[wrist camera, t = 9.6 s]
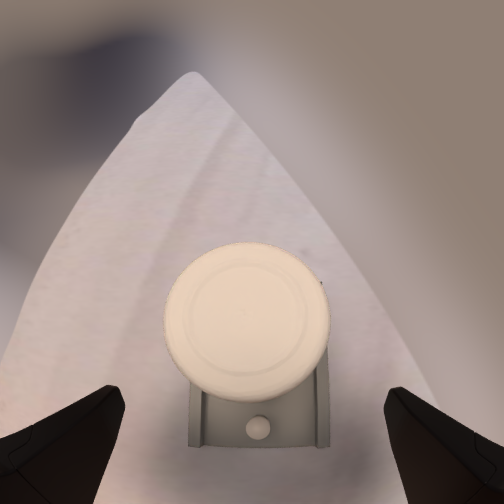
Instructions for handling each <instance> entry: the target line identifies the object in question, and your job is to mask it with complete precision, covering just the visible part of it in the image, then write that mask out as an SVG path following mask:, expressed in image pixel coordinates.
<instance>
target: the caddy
mask: <svg viewBox="0 0 504 504" xmlns="http://www.w3.org/2000/svg"><path fill="white" fill-rule="evenodd" d="M320 283H321V285H322V282H320ZM203 445H207V446H220V447H238V448H285V447H303V446H316V447H317V448H324V447H330V403H329V373H328V354H327V346H326V349H325V351H324V353H323V356H322V358H321V359H320V361H319V363H318V364H317V366H316V367H315V369H314V370H313V372H312V373H311V374H310V375H309V376H308V377H307V378H306V379H305V380H304V381H303V382H302V383H301V384H299V385H298V386H297V387H295V388H294V389H292V390H291V391H289V392H288V393H286V394H284V395H282V396H280V397H277V398H274V399H271V400H268V401H263V402H257V403H239V402H232V401H227V400H223V399H219V398H217V397H215V396H212V395H210V394H208V393H206V392H204V391H202V390H200V389H199V388H197V387H196V386H195V385H193V384H192V383H191V382H190V400H189V433H188V446H190V447H199V448H200V447H202V446H203Z"/></svg>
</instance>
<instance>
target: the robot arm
mask: <svg viewBox="0 0 504 504" xmlns="http://www.w3.org/2000/svg"><path fill="white" fill-rule="evenodd" d="M124 411H125V402H124V400H123V397H122V395H121V392H120V389H119V388H118V387H117V386H112V385H106V386H104V387H102V388H100V389H98V390H97V391H95V392H93V393H91V394H89V395H88V396H86V397H84V398H82V399H80V400H78V401H77V402H75V403H73V404H71V405H69V406H67V407H65V408H64V409H62V410H60V411H58V412H56V413H54V414H52V415H50V416H48V417H46V418H44V419H42V420H40V421H38V422H37V423H35V424H34V425H30V426H29V427H27V428H24V429H22V430H20V431H18V432H16V433H13V434H11V435H8V436H6V437H3V438H0V504H93V502H94V499H95V496H96V494H97V491H98V488H99V485H100V483H101V480H102V477H103V475H104V472H105V469H106V467H107V464H108V461H109V459H110V456H111V454H112V451H113V449H114V446H115V443H116V440H117V437H118V433H119V429H120V425H121V422H122V418H123V414H124ZM384 415H385V419H386V424H387V429H388V434H389V439H390V444H391V448H392V451H393V454H394V458H395V461H396V464H397V467H398V470H399V473H400V477H401V480H402V483H403V487H404V490H405V494H406V497H407V501H408V504H504V447H503V446H500V445H498V444H496V443H494V442H492V441H490V440H488V439H487V438H485V437H483V436H481V435H479V434H478V433H476V432H475V433H474V431H473V430H471V429H469V428H468V427H466V426H464V425H463V424H461V423H459V422H457V421H456V420H454V419H453V418H451V417H449V416H448V415H446V414H445V413H443V412H441V411H440V410H438V409H437V408H435V407H433V406H432V405H430V404H429V403H427V402H425V401H424V400H422V399H421V398H419V397H417V396H416V395H414V394H413V393H411V392H410V391H408V390H406V389H405V388H403V387H396V388H391V389H390V390H389V392H388V395H387V398H386V401H385V404H384Z"/></svg>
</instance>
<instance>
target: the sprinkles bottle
mask: <svg viewBox="0 0 504 504" xmlns="http://www.w3.org/2000/svg"><path fill="white" fill-rule="evenodd" d="M330 325H331V315H330V308H329V303H328V300H327V297H326V293H325V291H324V289H323V286H322V285H321V283H320V281H319V279H318V278H317V277H316V275H315V274H314V273H313V272H312V270H311V269H310V268H309V267H308V266H307V265H306V264H305V263H304V262H302V261H301V260H300V259H299V258H297V257H296V256H294V255H293V254H291V253H289V252H287V251H285V250H283V249H281V248H278V247H275V246H272V245H268V244H263V243H255V242H241V243H234V244H228V245H224V246H221V247H218V248H215V249H213V250H211V251H209V252H207V253H205V254H203V255H202V256H200V257H199V258H197V259H196V260H195V261H193V262H192V263H191V264H190V265H189V266H188V267H186V269H185V270H184V271H183V272H182V273H181V274H180V276H179V277H178V278H177V280H176V281H175V282H174V284H173V287H172V288H171V291H170V293H169V295H168V298H167V301H166V305H165V309H164V317H163V329H164V338H165V342H166V346H167V349H168V352H169V354H170V356H171V358H172V360H173V362H174V363H175V365H176V366H177V368H178V369H179V371H180V372H181V373H182V374H183V375H184V376H185V377H186V378H187V379H188V380H189V381H190V382H191V383H192V384H193V385H195V386H196V387H197V388H199V389H200V390H202V391H204V392H206V393H208V394H210V395H212V396H215V397H217V398H219V399H223V400H227V401H232V402H239V403H257V402H263V401H268V400H271V399H274V398H277V397H280V396H282V395H284V394H286V393H288V392H289V391H291V390H292V389H294V388H295V387H297V386H298V385H299V384H301V383H302V382H303V381H304V380H305V379H306V378H307V377H308V376H309V375H310V374H311V373H312V372H313V370H314V369H315V367H316V366H317V364H318V363H319V361H320V359H321V358H322V356H323V353H324V351H325V349H326V346H327V342H328V339H329V335H330Z"/></svg>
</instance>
